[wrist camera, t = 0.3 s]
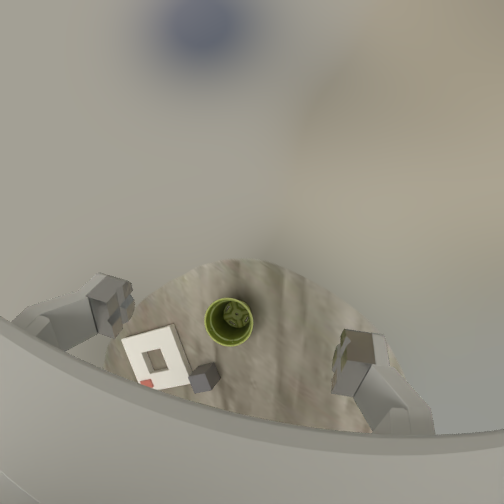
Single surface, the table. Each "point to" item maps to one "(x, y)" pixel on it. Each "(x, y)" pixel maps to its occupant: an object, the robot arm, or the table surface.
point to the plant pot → (221, 326)
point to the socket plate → (171, 351)
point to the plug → (204, 378)
